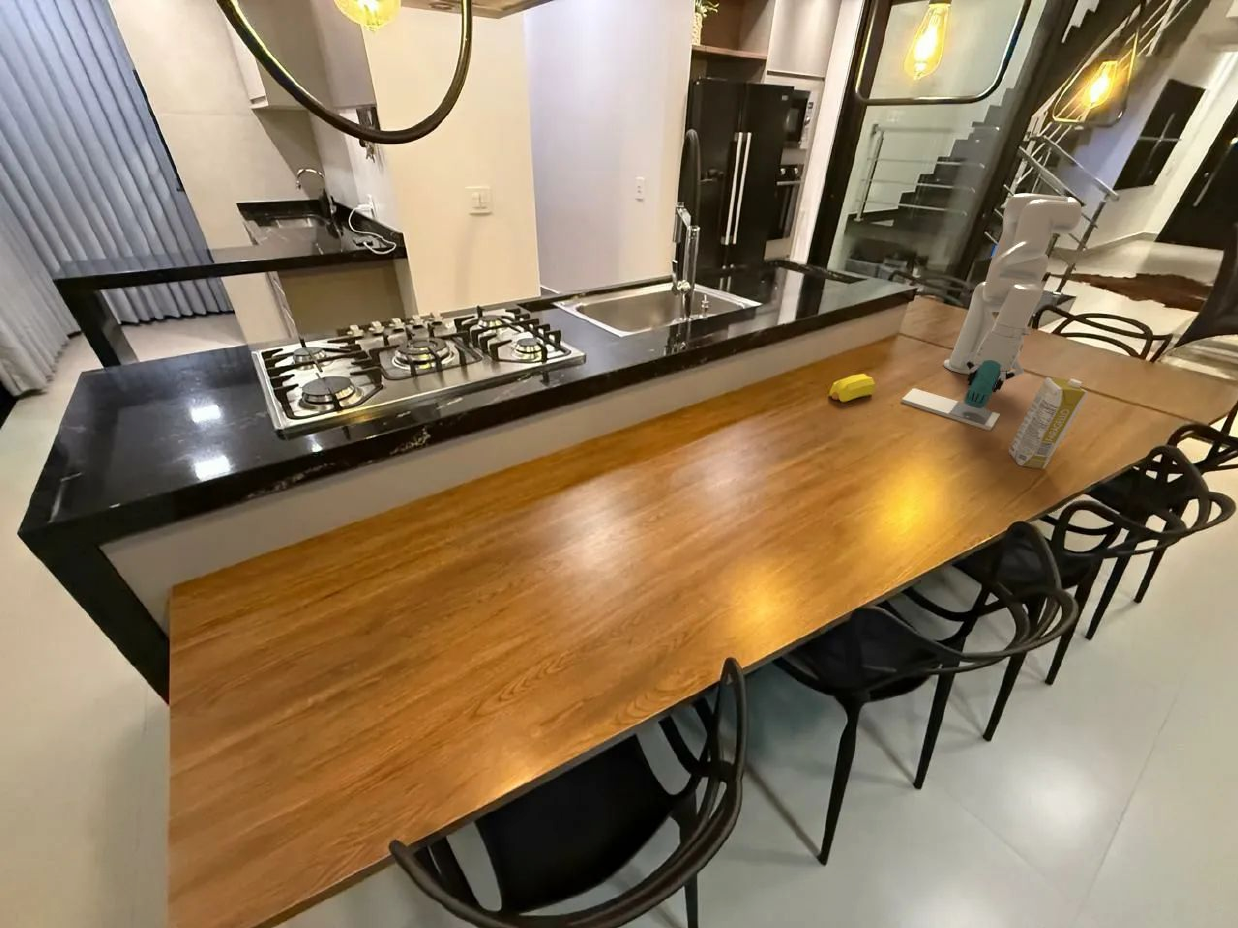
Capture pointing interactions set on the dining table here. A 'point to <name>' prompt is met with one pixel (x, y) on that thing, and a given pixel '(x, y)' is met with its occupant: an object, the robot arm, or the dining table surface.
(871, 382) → the yellow faceted oblong part
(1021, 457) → the juice carton
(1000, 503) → the dining table surface
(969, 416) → the floor panel
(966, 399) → the beverage bottle
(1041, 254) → the robot arm
